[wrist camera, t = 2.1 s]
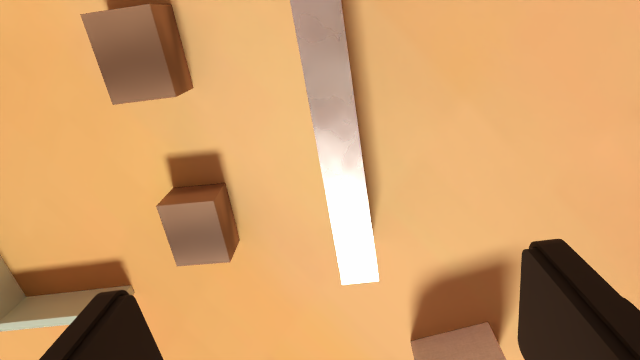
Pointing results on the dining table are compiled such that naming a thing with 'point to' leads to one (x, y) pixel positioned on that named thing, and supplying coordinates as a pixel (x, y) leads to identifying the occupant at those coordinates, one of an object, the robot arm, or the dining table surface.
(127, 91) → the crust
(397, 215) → the dining table surface
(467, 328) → the pale brown block
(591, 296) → the robot arm
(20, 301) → the grey u-shaped bracket
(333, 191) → the long grey plank
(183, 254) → the small brown block
